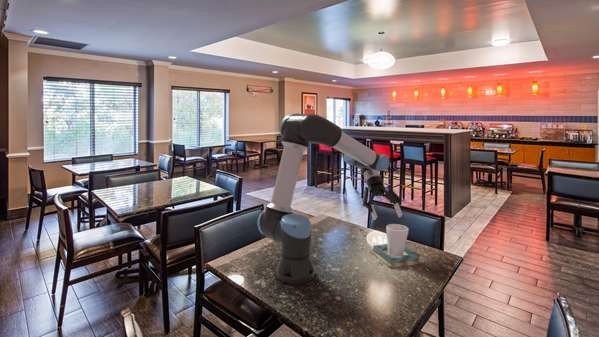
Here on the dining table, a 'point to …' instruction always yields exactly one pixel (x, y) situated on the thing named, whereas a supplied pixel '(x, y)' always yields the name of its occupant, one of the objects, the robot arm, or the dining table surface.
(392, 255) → the foam cup
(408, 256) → the plate
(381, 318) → the dining table surface
